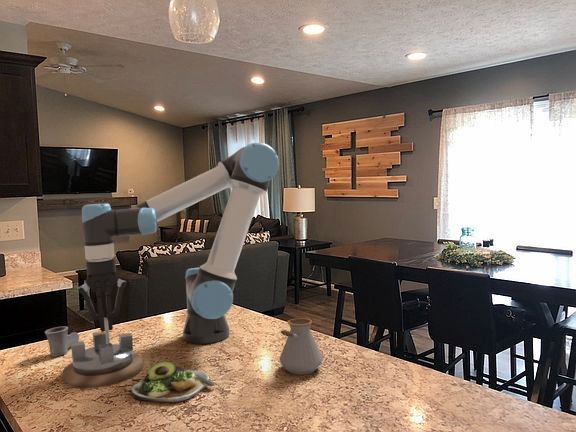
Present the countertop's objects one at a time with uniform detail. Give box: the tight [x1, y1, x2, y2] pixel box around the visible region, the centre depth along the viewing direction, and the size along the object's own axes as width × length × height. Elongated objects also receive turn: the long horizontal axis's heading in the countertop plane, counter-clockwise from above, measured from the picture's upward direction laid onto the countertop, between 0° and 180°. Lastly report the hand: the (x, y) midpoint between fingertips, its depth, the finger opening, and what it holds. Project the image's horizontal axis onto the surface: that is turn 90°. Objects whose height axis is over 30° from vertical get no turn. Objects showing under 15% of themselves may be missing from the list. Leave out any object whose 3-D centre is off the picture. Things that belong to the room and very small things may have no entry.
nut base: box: [62, 352, 144, 389], centre depth 124 cm, size 20×20×2 cm
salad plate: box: [130, 360, 216, 403], centre depth 113 cm, size 19×18×5 cm
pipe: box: [44, 325, 80, 358], centre depth 140 cm, size 6×13×8 cm, turn 174°
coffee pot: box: [276, 317, 324, 375], centre depth 117 cm, size 21×12×15 cm, turn 162°
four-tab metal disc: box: [71, 330, 134, 375], centre depth 123 cm, size 15×15×7 cm
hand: (107, 341), depth 129 cm, fingers closed
